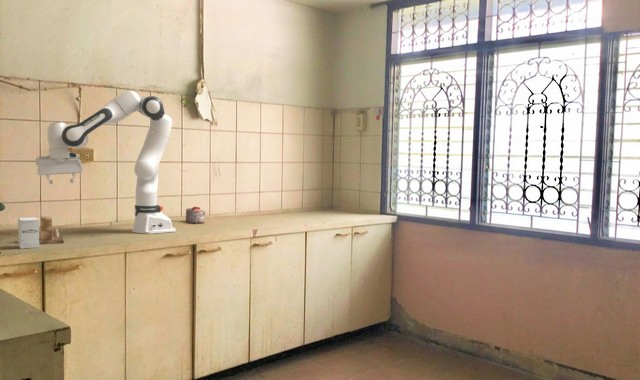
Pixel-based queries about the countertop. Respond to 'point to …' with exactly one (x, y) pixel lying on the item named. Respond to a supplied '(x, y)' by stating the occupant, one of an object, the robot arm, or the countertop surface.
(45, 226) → the brown rectangular block
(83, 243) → the countertop surface
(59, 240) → the peg stand
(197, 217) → the food item
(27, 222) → the supplement box
